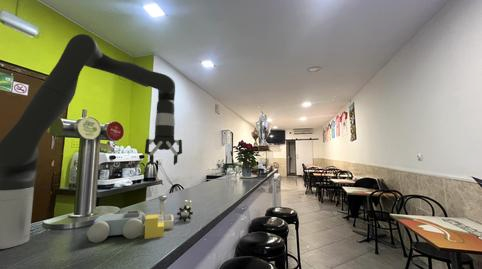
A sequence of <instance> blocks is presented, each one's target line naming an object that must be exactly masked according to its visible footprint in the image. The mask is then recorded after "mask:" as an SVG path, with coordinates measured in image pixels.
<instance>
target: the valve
mask: <svg viewBox="0 0 482 269" xmlns="http://www.w3.org/2000/svg"><path fill="white" fill-rule="evenodd" d="M192 208H193V206H192V200H191V199H190V200H189V199H187V200H183V206H182V207H179V209H178V210H179V211H178V212H176V215H177V216H179V217H178V220H180V221H181V220H183V222H187V219H188V220H191V219H192V215H193V214H194V212H193V211H192ZM182 215H183V216H182Z"/></svg>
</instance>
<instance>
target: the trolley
mask: <svg viewBox="0 0 482 269" xmlns="http://www.w3.org/2000/svg"><path fill="white" fill-rule="evenodd" d="M145 219H146V214H145V213H144V211H141V209H136V210H126V212H124V213H115V214H114V213H111V212H106V213H104V214H101V215H100V216H98V217H97V218H96V219H95V220H94V221H93V224H92V225H91V226H90V227H88V228H89V229H88V231H87V233H86V234H87V238H88V240H89V241H90V242H91V243H95V244H96V243H97V244H98V243H101V242H103V241H105V240H106V239H107V237H108V236H109V237H110V236H119V235H123V237H125V238H126V239H128V240H129V239H130V240H131V239H132V240H133V239H136V238H138V237H139V236H140V235H141V234H142V232H143V228H144V225H145Z"/></svg>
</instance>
